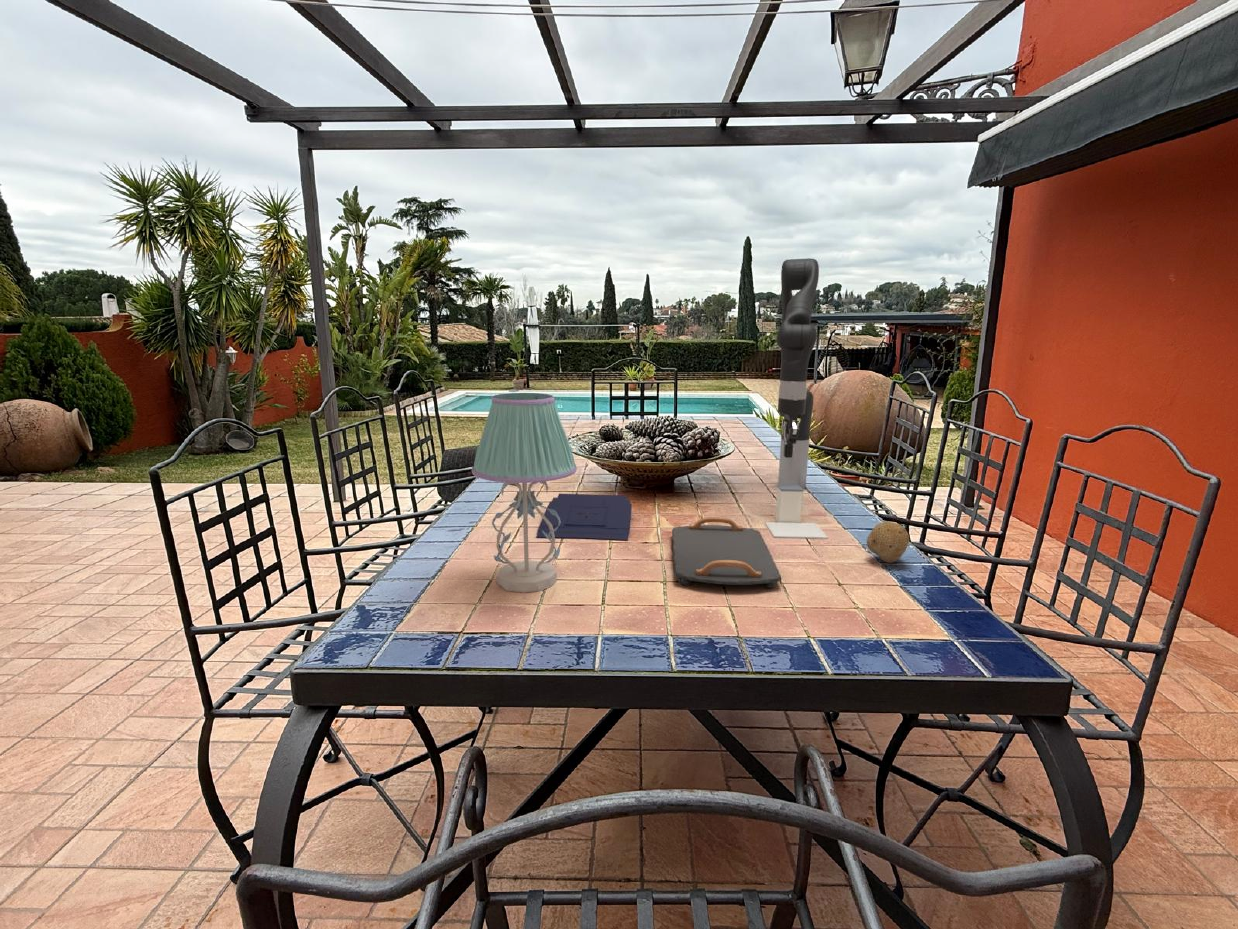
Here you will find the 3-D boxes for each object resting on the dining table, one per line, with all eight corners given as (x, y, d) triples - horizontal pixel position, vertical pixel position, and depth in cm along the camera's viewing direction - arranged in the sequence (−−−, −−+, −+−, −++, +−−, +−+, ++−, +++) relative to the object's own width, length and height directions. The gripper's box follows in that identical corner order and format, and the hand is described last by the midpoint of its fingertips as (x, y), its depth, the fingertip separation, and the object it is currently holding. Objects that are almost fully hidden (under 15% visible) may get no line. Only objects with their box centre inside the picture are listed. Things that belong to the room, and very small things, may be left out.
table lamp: (569, 559, 152) (568, 390, 143) (584, 597, 131) (584, 402, 122) (475, 565, 147) (469, 391, 138) (475, 606, 126) (467, 403, 118)
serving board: (785, 597, 133) (787, 569, 132) (673, 593, 134) (674, 565, 133) (757, 536, 171) (758, 514, 169) (670, 533, 172) (671, 511, 171)
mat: (765, 523, 180) (765, 522, 180) (815, 524, 180) (815, 523, 180) (774, 537, 169) (774, 536, 169) (827, 538, 168) (827, 537, 168)
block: (775, 518, 186) (777, 484, 184) (796, 518, 186) (798, 485, 183) (779, 523, 181) (781, 489, 179) (800, 523, 181) (803, 489, 179)
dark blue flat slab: (632, 503, 194) (633, 492, 193) (628, 549, 166) (628, 536, 164) (553, 501, 195) (552, 490, 194) (535, 546, 167) (534, 533, 166)
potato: (865, 565, 150) (869, 525, 148) (864, 553, 158) (868, 514, 156) (907, 571, 147) (912, 529, 145) (904, 558, 155) (909, 518, 153)
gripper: (774, 394, 187) (770, 452, 191) (784, 399, 174) (779, 461, 178) (799, 394, 187) (795, 452, 191) (811, 399, 174) (806, 462, 178)
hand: (787, 457), depth 184 cm, fingers closed
